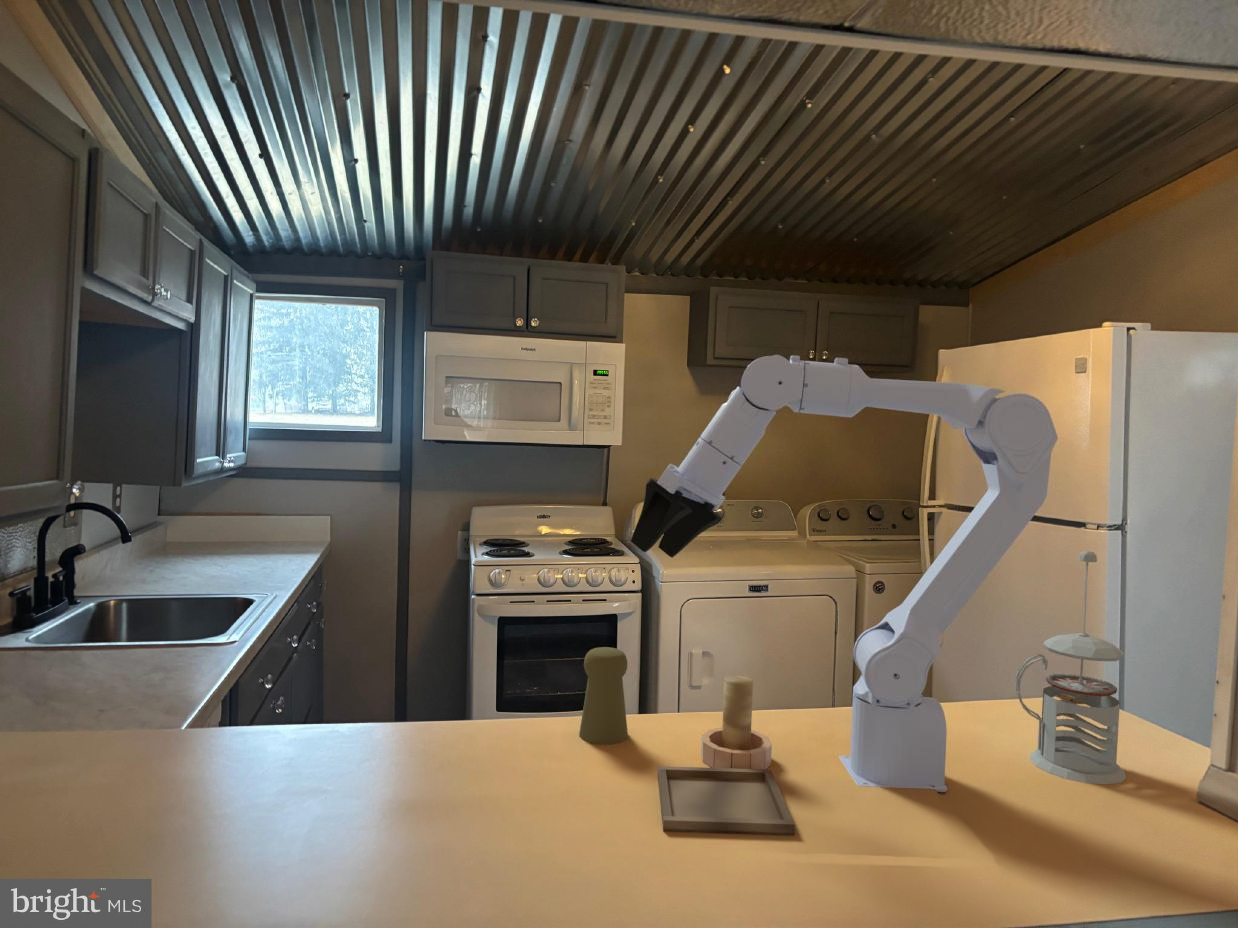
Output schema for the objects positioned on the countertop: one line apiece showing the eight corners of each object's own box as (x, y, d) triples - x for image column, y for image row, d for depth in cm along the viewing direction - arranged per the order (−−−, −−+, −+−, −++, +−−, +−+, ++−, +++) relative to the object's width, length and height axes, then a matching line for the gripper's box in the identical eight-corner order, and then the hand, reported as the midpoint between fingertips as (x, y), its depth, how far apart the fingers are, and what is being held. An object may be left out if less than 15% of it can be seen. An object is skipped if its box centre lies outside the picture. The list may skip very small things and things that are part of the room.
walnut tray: (770, 784, 86) (770, 769, 86) (794, 841, 74) (794, 824, 74) (657, 780, 86) (657, 765, 86) (662, 837, 74) (663, 819, 74)
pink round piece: (763, 751, 94) (764, 728, 94) (775, 779, 87) (776, 754, 87) (698, 749, 94) (699, 726, 94) (705, 777, 87) (706, 751, 87)
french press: (1137, 790, 87) (1150, 560, 86) (1018, 772, 91) (1030, 552, 90) (1114, 756, 96) (1125, 548, 95) (1007, 741, 100) (1017, 541, 99)
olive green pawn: (630, 732, 99) (633, 644, 99) (626, 751, 93) (629, 657, 93) (582, 729, 100) (584, 641, 100) (574, 747, 94) (577, 654, 94)
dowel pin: (747, 753, 92) (750, 675, 92) (752, 765, 89) (755, 684, 89) (719, 752, 92) (722, 675, 92) (723, 764, 89) (726, 683, 89)
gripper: (715, 445, 98) (652, 535, 100) (669, 418, 86) (598, 521, 87) (760, 477, 95) (695, 569, 97) (719, 453, 82) (644, 560, 84)
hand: (652, 549), depth 92 cm, fingers open, 7 cm apart
